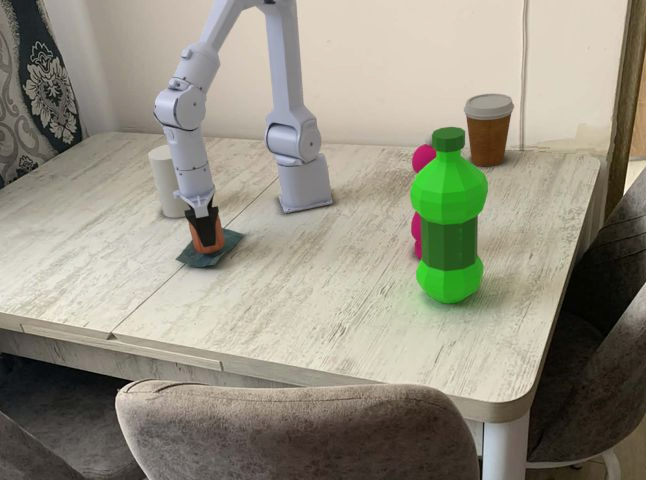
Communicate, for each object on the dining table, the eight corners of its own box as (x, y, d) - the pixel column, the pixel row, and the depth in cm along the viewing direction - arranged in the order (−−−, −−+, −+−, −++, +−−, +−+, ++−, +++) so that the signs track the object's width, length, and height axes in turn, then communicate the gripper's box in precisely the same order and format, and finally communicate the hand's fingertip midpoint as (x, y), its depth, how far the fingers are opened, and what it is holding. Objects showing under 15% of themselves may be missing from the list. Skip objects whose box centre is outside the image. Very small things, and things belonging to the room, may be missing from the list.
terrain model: (206, 232, 136) (204, 223, 135) (244, 236, 134) (243, 227, 133) (175, 268, 127) (173, 258, 126) (216, 272, 125) (214, 263, 123)
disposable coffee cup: (475, 148, 153) (476, 91, 146) (519, 154, 148) (522, 94, 141) (455, 166, 147) (455, 107, 140) (500, 172, 142) (502, 111, 135)
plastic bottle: (411, 279, 114) (404, 123, 100) (479, 273, 113) (483, 115, 99) (417, 315, 106) (411, 151, 92) (491, 309, 105) (496, 142, 91)
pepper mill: (428, 268, 117) (425, 147, 105) (403, 250, 122) (397, 135, 110) (465, 253, 119) (465, 134, 107) (438, 237, 124) (436, 122, 113)
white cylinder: (195, 217, 143) (181, 158, 136) (157, 218, 145) (141, 160, 138) (208, 198, 149) (195, 142, 142) (171, 200, 151) (156, 144, 144)
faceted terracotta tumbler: (223, 236, 131) (217, 209, 128) (226, 250, 127) (220, 223, 123) (193, 242, 131) (187, 215, 128) (196, 256, 126) (189, 229, 123)
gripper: (165, 153, 125) (183, 224, 133) (168, 185, 113) (188, 261, 121) (205, 145, 126) (221, 216, 134) (213, 176, 114) (229, 252, 122)
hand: (208, 237), depth 128 cm, fingers closed on faceted terracotta tumbler, 5 cm apart
